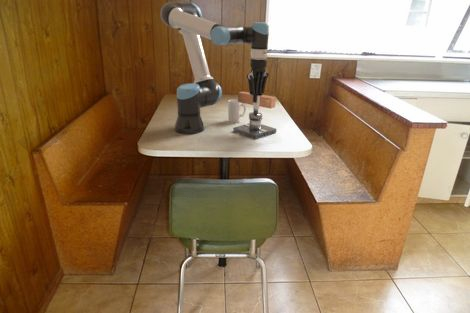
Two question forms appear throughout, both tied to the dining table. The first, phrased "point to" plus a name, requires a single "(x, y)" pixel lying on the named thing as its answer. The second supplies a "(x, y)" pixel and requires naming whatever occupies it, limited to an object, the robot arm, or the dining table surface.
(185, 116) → the robot arm
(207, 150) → the dining table surface
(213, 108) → the dining table surface
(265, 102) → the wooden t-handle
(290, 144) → the dining table surface
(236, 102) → the mug
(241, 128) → the base
